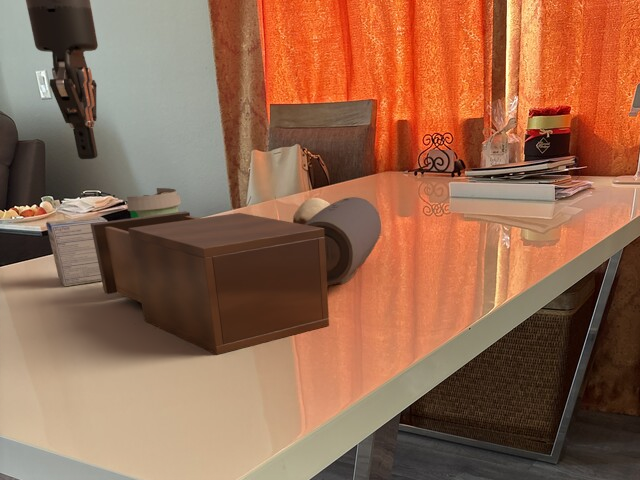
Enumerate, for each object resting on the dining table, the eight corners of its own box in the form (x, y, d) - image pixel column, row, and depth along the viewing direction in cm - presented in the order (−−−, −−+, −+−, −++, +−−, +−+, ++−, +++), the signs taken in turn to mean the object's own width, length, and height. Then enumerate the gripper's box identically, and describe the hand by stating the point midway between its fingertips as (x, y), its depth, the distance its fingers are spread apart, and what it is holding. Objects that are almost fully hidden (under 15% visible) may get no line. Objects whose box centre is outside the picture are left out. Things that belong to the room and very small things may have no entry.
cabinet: (144, 321, 87) (127, 228, 82) (248, 298, 95) (239, 212, 90) (216, 354, 75) (202, 248, 69) (329, 325, 83) (324, 228, 77)
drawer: (91, 287, 99) (77, 220, 95) (180, 271, 107) (170, 208, 102) (158, 316, 85) (144, 239, 80) (255, 295, 92) (248, 223, 88)
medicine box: (111, 274, 111) (100, 215, 107) (119, 279, 107) (107, 218, 103) (58, 281, 107) (44, 221, 103) (64, 287, 104) (50, 225, 100)
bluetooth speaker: (328, 259, 115) (324, 193, 110) (385, 260, 114) (384, 192, 109) (290, 295, 96) (284, 216, 91) (358, 296, 94) (355, 216, 89)
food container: (171, 261, 118) (161, 196, 113) (136, 260, 119) (125, 197, 114) (199, 246, 129) (191, 187, 124) (167, 246, 130) (158, 187, 125)
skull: (307, 228, 135) (336, 187, 128) (342, 270, 134) (372, 230, 127) (266, 237, 126) (295, 192, 119) (303, 281, 125) (333, 239, 118)
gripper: (45, 12, 94) (74, 155, 102) (9, 0, 83) (44, 163, 91) (103, 10, 94) (127, 154, 103) (74, -1, 83) (104, 161, 91)
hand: (88, 158), depth 97 cm, fingers closed
